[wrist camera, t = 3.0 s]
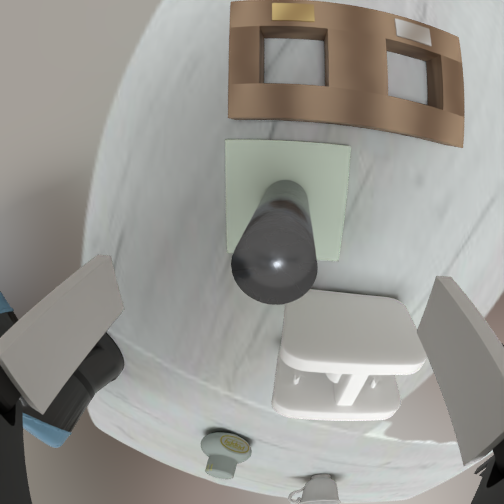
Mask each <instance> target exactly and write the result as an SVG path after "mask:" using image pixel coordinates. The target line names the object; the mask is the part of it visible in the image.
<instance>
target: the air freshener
mask: <svg viewBox="0 0 504 504" xmlns="http://www.w3.org/2000/svg"><path fill="white" fill-rule="evenodd" d="M201 448H202V451H203V452H204V453H205V454H206V455H207V456H208V457H209V459H208V462H207V466H206V469H205V471H206V473H207V474H209V475H211V476H213V477H216V478H221V479H231V478H233V477H234V473H235V469H236V465H237V464H238V463H242V462H244V461H246V460H247V459H248V458H249V457H250V456H251V452H252V450H251V447H250V445H249V444H248V443H247V442H246V441H245V440H244V439H243V438H241V437H239V436H238V435H236V434H233V433H225V432H216V433H211V434H208V435H207V436H205V437H204V438H203V439H202V441H201Z"/></svg>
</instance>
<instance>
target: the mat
mask: <svg viewBox="0 0 504 504" xmlns="http://www.w3.org/2000/svg"><path fill="white" fill-rule="evenodd" d="M350 153H351V146H345V145H336V144H326V143H315V142H301V141H284V140H250V139H229V140H225V190H226V239H227V253H234V250H235V248H236V246H237V244H238V243H239V241H240V239H241V237H242V235H243V233H244V231H245V229H246V227H247V225H248V224H249V222H250V220H251V218H252V216H253V214H254V212H255V210H256V208H257V207H258V205H259V203H260V201H261V199H262V197H263V195H264V193H265V192H266V190H267V188H268V187H269V186H270V185H271V184H273V183H274V182H277V181H280V180H291V181H294V182H296V183H298V184H299V185H300V186H301V187H302V188H303V189H304V190H305V192H306V194H307V197H308V203H309V209H310V216H311V222H312V229H313V236H314V243H315V250H316V258H317V260H325V261H339V254H340V248H341V241H342V233H343V226H344V218H345V209H346V200H347V190H348V180H349V168H350Z"/></svg>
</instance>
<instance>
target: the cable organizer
mask: <svg viewBox="0 0 504 504" xmlns="http://www.w3.org/2000/svg"><path fill="white" fill-rule="evenodd" d="M426 358H427V355H426V352H425V350H424V348H423V346H422V343H421V341H420V339H419V337H418V335H417V329H416V326H415V324H414V322H413V320H412V318H411V316H410V314H409V312H408V310H407V308H406V306H405V305H404V304H403V303H402V302H400V301H398V300H396V299H393V298H389V297H381V296H371V295H360V294H351V293H341V292H332V291H323V290H314V289H309V291H308V292H307V293H306V294H305V295H303V296H302V297H300V298H299V299H297V300H295V301H293V302H290V303H286V304H285V311H284V321H283V330H282V339H281V346H280V348H279V353H278V359H277V367H276V374H275V382H274V389H273V397H272V407H273V409H274V410H275V411H276V412H277V413H279V414H280V415H282V416H285V417H289V418H296V419H310V420H331V421H370V420H384V419H387V418H389V417H391V416H392V415H393V414H394V413H395V412H396V411H397V409H398V408H399V407H400V405H401V398H400V394H399V390H398V386H397V382H396V378H395V375H409V374H413V373H416V372H417V371H419V370H420V368H421V367H422V365H423V364H424V362H425V360H426Z"/></svg>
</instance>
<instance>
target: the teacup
mask: <svg viewBox="0 0 504 504" xmlns="http://www.w3.org/2000/svg"><path fill="white" fill-rule="evenodd" d="M330 478H331V475H328V474H317V475H313V476H312V477H311V480H310V481H308V482H307V483H306V484H305V486H304V487H303V488H302V489H300V490H296V491H293V492H292V493H291V494H290V495H289V497H288V500H289V502H290V503H291V504H296V503H298V501H299V500H300V503H299V504H340V503H341V501H340V500H339V498H338V491H337V484H336V482H335V481H334V480H332V479H330ZM302 490H303V494H302V498H300V497H298V498H297V500H296V501H293V500H292V499H291V497H292V496H293V495H294V494H295V493H299V492H301V491H302Z"/></svg>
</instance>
